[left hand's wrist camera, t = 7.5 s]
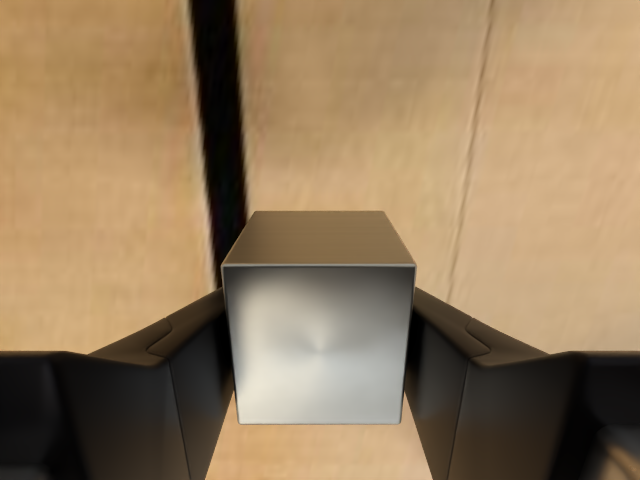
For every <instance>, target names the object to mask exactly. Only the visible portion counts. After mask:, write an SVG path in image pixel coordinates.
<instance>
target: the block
mask: <svg viewBox="0 0 640 480" xmlns="http://www.w3.org/2000/svg"><path fill="white" fill-rule="evenodd" d="M221 271H222V281H223V290H224V299H225V309H226V318H227V327H228V336H229V346H230V355H231V364H232V373H233V383H234V392H235V401H236V410H237V420H238V423H239V424H241V425H302V424H400V423H401V417H402V407H403V398H404V388H405V378H406V369H407V359H408V349H409V339H410V330H411V320H412V310H413V301H414V291H415V281H416V271H417V265H416V263H415V261H414V259H413V258H412V256H411V255H410V253H409V251H408V250H407V248H406V246H405V245H404V243H403V242H402V240H401V238H400V237H399V235H398V233H397V232H396V230H395V229H394V227H393V225H392V224H391V222H390V220H389V219H388V217H387V215H386V214H385V212H384V211H255V212H254V213H253V215H252V217H251V218H250V220H249V221H248V223H247V225H246V226H245V228H244V229H243V231H242V233H241V234H240V236H239V237H238V239H237V241H236V242H235V244H234V245H233V247H232V249H231V250H230V252H229V253H228V255H227V257H226V258H225V260H224V261H223V263H222V265H221Z"/></svg>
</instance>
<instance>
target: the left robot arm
mask: <svg viewBox="0 0 640 480" xmlns="http://www.w3.org/2000/svg"><path fill="white" fill-rule="evenodd" d="M404 390H405V394H406V397H407V400H408V403H409V406H410V409H411V412H412V415H413V419H414V422H415V425H416V428H417V431H418V434H419V437H420V440H421V444H422V447H423V450H424V453H425V456H426V459H427V462H428V465H429V469H430V472H431V475H432V478H433V480H640V351H567V352H562V353H556V354H551V355H550V354H547V353H545V352H543V351H541V350H539V349H536V348H534V347H532V346H530V345H528V344H525V343H523V342H521V341H519V340H517V339H514V338H512V337H510V336H508V335H506V334H504V333H502V332H500V331H498V330H496V329H494V328H492V327H490V326H488V325H486V324H484V323H482V322H480V321H478V320H477V319H475V318H472V317H471V316H469V315H467V314H465V313H463V312H462V311H460V310H458V309H456V308H454V307H452V306H451V305H449V304H447V303H445V302H443V301H441V300H439V299H438V298H436V297H434V296H432V295H430V294H428V293H426V292H425V291H423V290H421V289H419V288H417V287H415V291H414V301H413V310H412V320H411V330H410V339H409V349H408V359H407V369H406V378H405V388H404ZM233 391H234V383H233V373H232V364H231V355H230V346H229V336H228V327H227V318H226V309H225V299H224V290H223V287H221V288H219V289H217V290H215V291H214V292H212V293H210V294H208V295H206V296H204V297H202V298H201V299H199V300H197V301H195V302H193V303H191V304H189V305H188V306H186V307H184V308H182V309H180V310H178V311H176V312H174V313H173V314H171V315H169V316H167V317H166V318H163V319H161V320H159V321H158V322H156V323H154V324H152V325H150V326H148V327H146V328H144V329H142V330H140V331H138V332H136V333H134V334H132V335H129V336H127V337H125V338H123V339H121V340H119V341H116V342H114V343H112V344H110V345H108V346H105V347H103V348H101V349H99V350H97V351H94V352H92V353H90V354H88V355H85V354H80V353H74V352H68V351H0V480H205V477H206V474H207V471H208V468H209V465H210V462H211V459H212V456H213V453H214V450H215V447H216V443H217V440H218V437H219V434H220V431H221V428H222V425H223V422H224V419H225V416H226V413H227V409H228V406H229V403H230V400H231V397H232V394H233Z"/></svg>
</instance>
